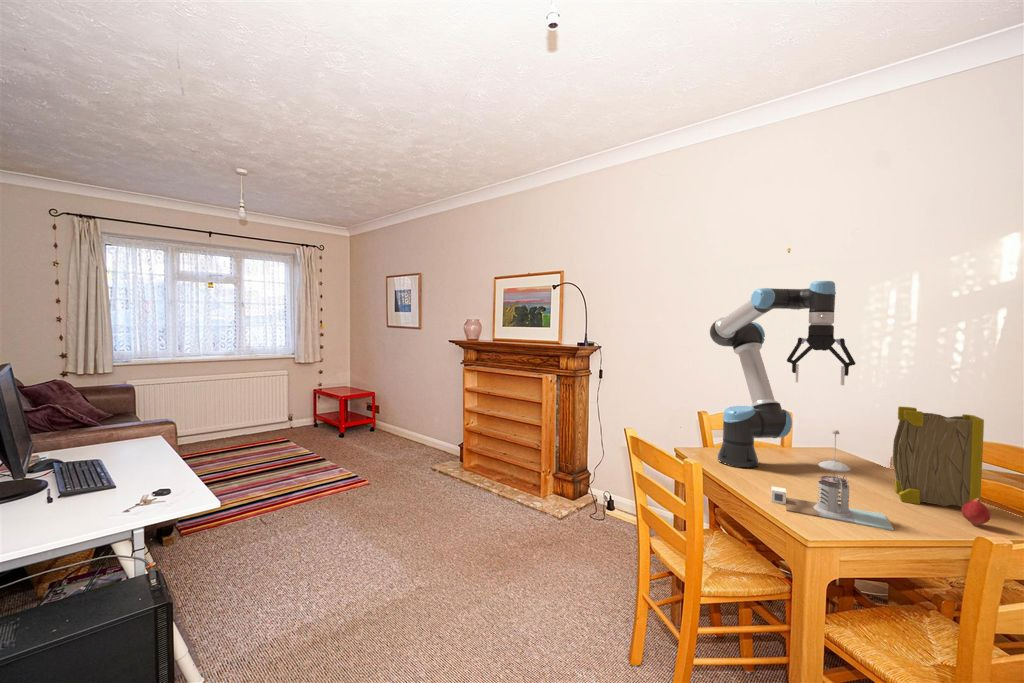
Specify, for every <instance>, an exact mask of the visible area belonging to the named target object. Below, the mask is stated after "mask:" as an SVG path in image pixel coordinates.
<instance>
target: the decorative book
mask: <svg viewBox="0 0 1024 683" xmlns="http://www.w3.org/2000/svg"><path fill="white" fill-rule="evenodd" d="M897 409H898V410H897V420H899V421H898V425H897V428H896V432H895V435H894V439H893V444H892V446H893V447H892V464H893V470H894V474H895V479H894V493H896V494H897V495H899V499H900V501H901V503H908V504H913V505H921V502H923V503H930V504H934V505H938V506H942V507H947V506H950V505H951V506H952V505H954V506H957V507H958V506H959V507H960V508H962V506H963V505H964V504H965V503H967V502H969V501H972V500H974V499H976V498H978V499H979V500H980V501H981V494H982V477H983V476H982V474H983V473H982V472H983V469H982V468H983V454H984V452H983V451H984V432H985V431H984V428H985V420H984V419H983V418H981V417H979V416H976V415H972V414H965V413H964V414H962V415H958V416H957V415H956V416H944V415H941V414H937V413H931V412H923V411H920V410H919V411H918V409H917V408H916V407H913V406H912V407H910V406H898V408H897Z"/></svg>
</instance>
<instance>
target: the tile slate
mask: <svg viewBox="0 0 1024 683" xmlns="http://www.w3.org/2000/svg"><path fill="white" fill-rule="evenodd" d="M816 504H818V501H816ZM849 511H850V509H849ZM850 512H851V511H850ZM819 514H820V517H819V518H823V519H828V520H832V521H833V520H834V521H839V522H845V523H850V524H855V520H854V518H853V516H852V517H836V516H831V515H827V514H824V513H821V512H819Z"/></svg>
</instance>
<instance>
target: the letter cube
mask: <svg viewBox="0 0 1024 683" xmlns="http://www.w3.org/2000/svg"><path fill="white" fill-rule="evenodd" d="M770 492H771V493H770V502H771V503H775V504H781V505H785V506H786V497H787V489H786V488H784V487H778V486H773V485H771V490H770Z"/></svg>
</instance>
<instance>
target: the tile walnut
mask: <svg viewBox="0 0 1024 683" xmlns="http://www.w3.org/2000/svg"><path fill="white" fill-rule="evenodd" d="M816 502H817V501H816ZM816 502H815V501H811V500H804V499H799V498H792V497H788V496H786V505H785V509H786V512H790V513H797V514H802V515H807V516H810V517H811V516H813V517H817V518H821V517H820V514H819V511H817V510H815V509H814V506H815V505H816Z"/></svg>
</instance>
